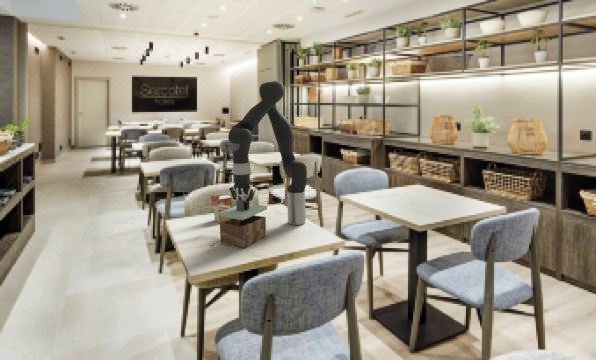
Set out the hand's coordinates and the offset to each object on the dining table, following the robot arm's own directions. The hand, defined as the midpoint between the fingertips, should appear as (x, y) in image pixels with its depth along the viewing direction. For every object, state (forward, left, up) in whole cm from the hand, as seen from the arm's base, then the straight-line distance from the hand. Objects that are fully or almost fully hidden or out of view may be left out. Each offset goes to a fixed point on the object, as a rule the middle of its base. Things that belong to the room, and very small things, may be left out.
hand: (243, 209), depth 196 cm
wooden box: (0, -2, -15) cm, 15 cm away
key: (-6, -16, -4) cm, 17 cm away
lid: (0, 0, -2) cm, 2 cm away
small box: (-22, -30, -16) cm, 40 cm away
